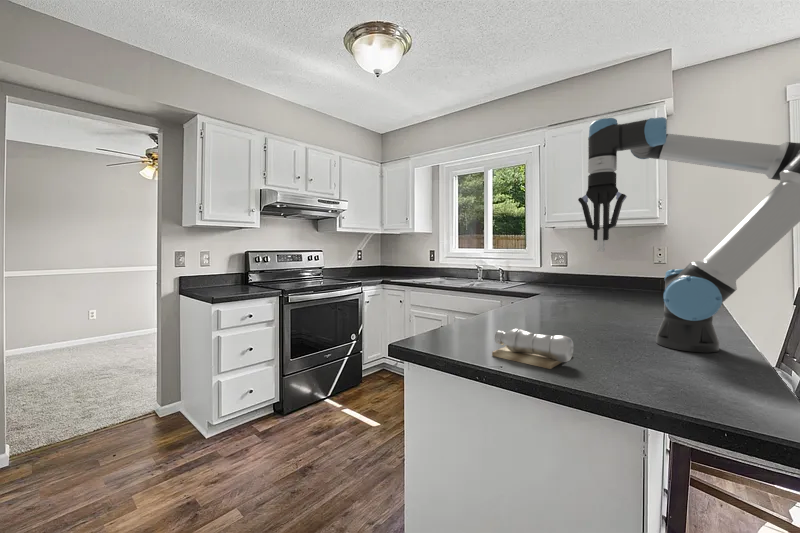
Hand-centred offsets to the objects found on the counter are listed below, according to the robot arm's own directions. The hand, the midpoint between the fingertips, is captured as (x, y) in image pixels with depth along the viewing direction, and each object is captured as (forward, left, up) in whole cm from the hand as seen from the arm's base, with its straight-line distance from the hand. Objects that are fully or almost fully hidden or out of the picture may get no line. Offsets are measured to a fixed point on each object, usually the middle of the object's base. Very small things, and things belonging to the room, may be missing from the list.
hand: (601, 251), depth 113 cm
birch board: (+9, +26, -29) cm, 40 cm away
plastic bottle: (-2, +29, -24) cm, 38 cm away
